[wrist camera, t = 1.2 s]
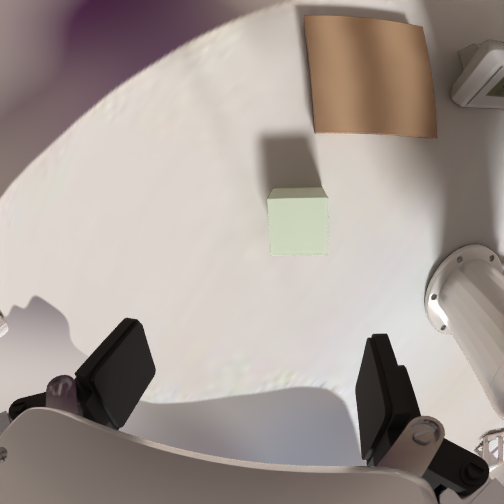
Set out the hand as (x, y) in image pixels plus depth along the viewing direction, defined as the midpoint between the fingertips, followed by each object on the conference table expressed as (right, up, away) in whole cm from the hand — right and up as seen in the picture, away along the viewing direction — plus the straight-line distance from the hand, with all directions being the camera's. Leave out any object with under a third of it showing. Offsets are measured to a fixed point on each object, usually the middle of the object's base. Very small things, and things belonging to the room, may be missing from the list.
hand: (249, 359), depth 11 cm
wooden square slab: (+12, +22, +12) cm, 27 cm away
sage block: (+5, +8, +19) cm, 21 cm away
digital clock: (+28, +24, +9) cm, 38 cm away
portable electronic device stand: (+60, -44, +30) cm, 80 cm away
